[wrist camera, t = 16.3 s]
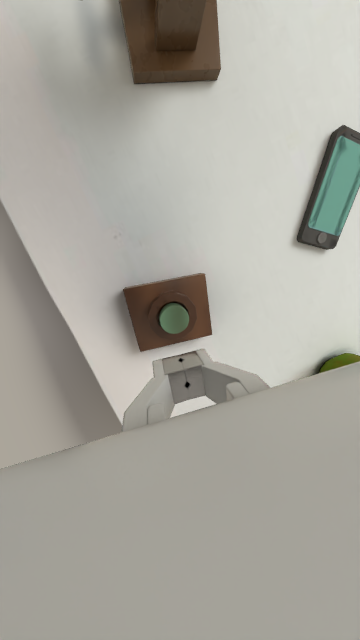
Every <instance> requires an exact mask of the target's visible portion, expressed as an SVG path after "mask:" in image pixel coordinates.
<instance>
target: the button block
mask: <svg viewBox="0 0 360 640" xmlns="http://www.w3.org/2000/svg"><path fill="white" fill-rule="evenodd" d="M123 291H124V295H125V298H126V302H127V306H128V309H129V313H130V316H131V320H132V323H133V327H134V331H135V334H136V338H137V341H138V345H139V349H140V352H142V351H146V350H150V349H154V348H158V347H163V346H167V345H171V344H175V343H179V342H184V341H188V340H192V339H196V338H200V337H205V336H209V335H212V329H211V321H210V312H209V304H208V295H207V287H206V278H205V274H203V273H199V274H193V275H188V276H183V277H178V278H172V279H167V280H162V281H157V282H151V283H146V284H141V285H136V286H130V287H125V288H124V289H123ZM170 303H176V304H179V305H181V306H182V307H183V308H184V309H185V310H186V311H187V313H188V315H189V323H188V326H187V327H186V328H185V329H184V330H183V331H182V332H180V333H177V334H171V333H168V332H166V331H165V330H164V329H163V328H162V327H161V324H160V320H159V314H160V311H161V309H162V308H163V307H164V306H166V305H167V304H170Z"/></svg>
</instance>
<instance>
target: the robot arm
mask: <svg viewBox="0 0 360 640" xmlns="http://www.w3.org/2000/svg"><path fill="white" fill-rule="evenodd" d="M153 373H154V378H152V379H151V380H150V381H149V382H148V384H147V385H146V386H145V387H144V389H143V390H142V391H141V392H140V394H139V395H138V396H137V397H136V399H135V400H134V401H133V402H132V404H131V405H130V406H129V407H128V409H127V410H126V411H125V412H124V418H123V425H122V432H121V433H119V434H115V435H112V436H109V437H106V438H102V439H99V440H95V441H92V442H89V443H86V444H82V445H79V446H75V447H72V448H69V449H65V450H62V451H59V452H55V453H52V454H49V455H46V456H42V457H39V458H35V459H32V460H29V461H25V462H22V463H19V464H15V465H12V466H9V467H5V468H2V469H0V640H360V361H359V362H356V363H353V364H349V365H346V366H342V367H339V368H336V369H332V370H329V371H326V372H322V373H319V374H316V375H312V376H309V377H306V378H302V379H299V380H296V381H292V382H289V383H286V384H282V385H279V386H276V387H272V388H270V387H269V386H268V385H267V384H266V383H265V382H264V381H263V380H262V379H261V378H260V377H259V376H258V375H256V374H253V373H250V372H247V371H244V370H241V369H238V368H235V367H231V366H228V365H225V364H222V363H219V362H213V360H212V359H211V357H210V356H209V355H208V353H207V352H206V351H205V349H199V350H196V351H192V352H188V353H185V354H181V355H177V356H172V357H168V358H164V359H159V360H155V361H153ZM205 395H206V397H208V398H209V399H211V400H212V401H214V402H215V403H217V404H216V405H212V406H209V407H206V408H202V409H199V410H196V411H192V412H189V413H185V414H182V415H179V416H175V417H172V418H170V416H171V413H172V411H173V408H174V404H177V403H180V402H183V401H186V400H189V399H193V398H197V397H201V396H205Z"/></svg>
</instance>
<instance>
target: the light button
mask: <svg viewBox="0 0 360 640" xmlns="http://www.w3.org/2000/svg"><path fill="white" fill-rule="evenodd" d="M159 320H160V324H161V327H162V328H163V329H164V330H165V331H166V332H168V333H171V334H177V333H180V332H182V331H183V330H184V329H185V328H186V327H187V326H188V323H189V315H188V313H187V311H186V310H185V309H184V308H183V307H182V306H181V305H179V304H176V303H170V304H167V305H166V306H164V307H163V308H162V309H161V311H160V314H159Z"/></svg>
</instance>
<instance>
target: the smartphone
mask: <svg viewBox="0 0 360 640" xmlns="http://www.w3.org/2000/svg"><path fill="white" fill-rule="evenodd" d="M359 187H360V133H359V132H357V131H355V130H353V129H351V128H349V127H347V126H345V125H342V126H341V127H339V128H338V129H337V130H335V131H334V132H333V133H332V136H331V139H330V142H329V145H328V147H327V150H326V153H325V156H324V159H323V162H322V165H321V168H320V171H319V174H318V177H317V180H316V183H315V186H314V189H313V192H312V195H311V198H310V201H309V204H308V207H307V210H306V213H305V216H304V219H303V221H302V224H301V227H300V230H299V233H298V236H297V240H298V242H301V243H305V244H308V245H312V246H316V247H319V248H323V249H333V248H335V246H336V244H337V242H338V239H339V237H340V234H341V232H342V229H343V227H344V224H345V222H346V219H347V217H348V214H349V212H350V209H351V207H352V204H353V202H354V199H355V197H356V194H357V192H358V189H359Z"/></svg>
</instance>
